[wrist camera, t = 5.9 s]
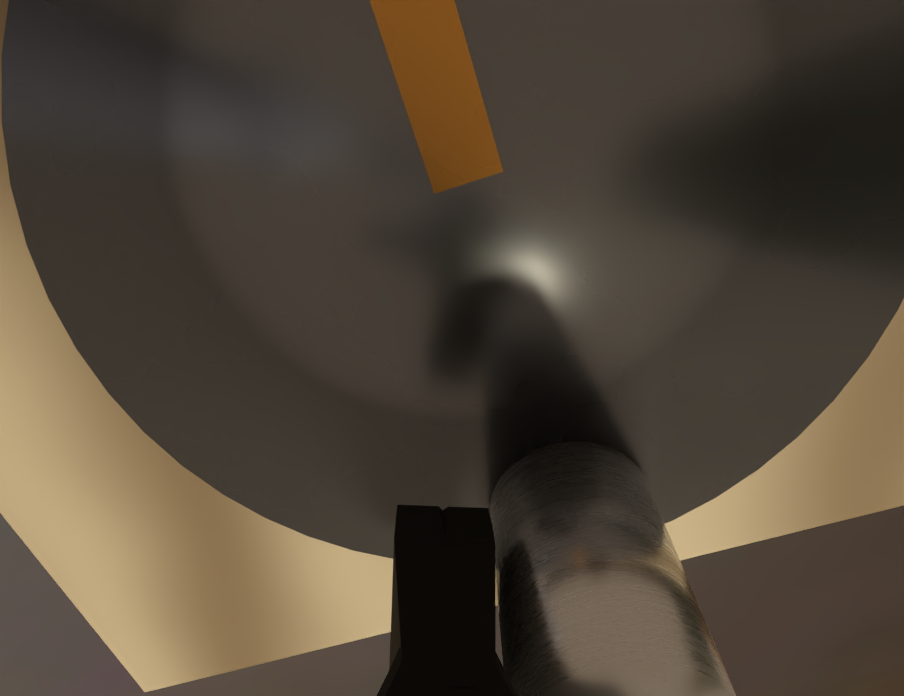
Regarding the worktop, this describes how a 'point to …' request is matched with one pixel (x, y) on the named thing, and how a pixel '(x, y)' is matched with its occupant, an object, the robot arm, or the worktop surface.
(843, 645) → the worktop surface
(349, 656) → the worktop surface
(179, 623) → the board
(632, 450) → the dial
